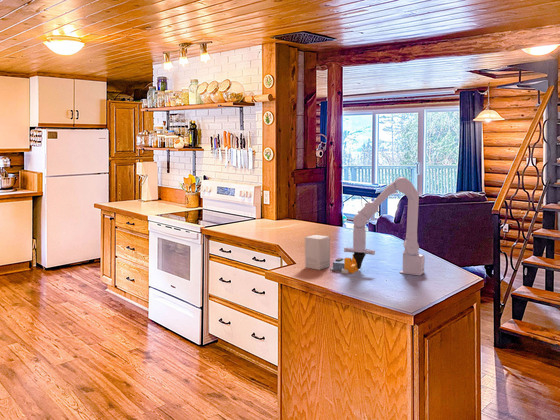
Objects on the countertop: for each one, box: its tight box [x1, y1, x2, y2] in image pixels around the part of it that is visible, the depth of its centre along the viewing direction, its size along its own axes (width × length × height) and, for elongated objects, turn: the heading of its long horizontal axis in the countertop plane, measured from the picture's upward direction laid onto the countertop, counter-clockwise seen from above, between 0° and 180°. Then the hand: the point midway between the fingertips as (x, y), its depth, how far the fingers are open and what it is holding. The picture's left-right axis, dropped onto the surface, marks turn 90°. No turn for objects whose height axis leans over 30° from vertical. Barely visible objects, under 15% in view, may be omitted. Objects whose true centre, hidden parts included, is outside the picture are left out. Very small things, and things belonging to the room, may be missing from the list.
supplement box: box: [304, 234, 331, 271], centre depth 234 cm, size 9×9×15 cm
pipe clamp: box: [343, 255, 359, 274], centre depth 229 cm, size 12×4×6 cm, turn 149°
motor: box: [329, 257, 363, 275], centre depth 231 cm, size 10×17×4 cm, turn 149°
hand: (359, 268), depth 227 cm, fingers closed
